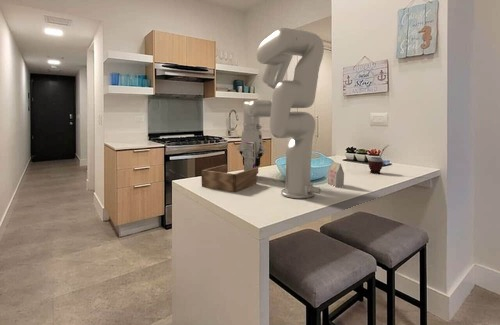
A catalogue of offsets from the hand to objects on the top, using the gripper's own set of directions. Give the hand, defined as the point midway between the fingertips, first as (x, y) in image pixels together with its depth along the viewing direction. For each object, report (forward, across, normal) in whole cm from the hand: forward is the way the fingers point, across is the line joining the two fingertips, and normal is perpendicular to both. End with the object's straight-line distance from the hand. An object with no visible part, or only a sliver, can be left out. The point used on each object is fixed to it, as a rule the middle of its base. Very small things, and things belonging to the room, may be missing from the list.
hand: (251, 165), depth 147 cm
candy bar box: (+5, 0, 0) cm, 5 cm away
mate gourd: (+7, -49, -45) cm, 67 cm away
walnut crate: (+6, 0, +18) cm, 19 cm away
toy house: (+7, -39, -7) cm, 40 cm away
